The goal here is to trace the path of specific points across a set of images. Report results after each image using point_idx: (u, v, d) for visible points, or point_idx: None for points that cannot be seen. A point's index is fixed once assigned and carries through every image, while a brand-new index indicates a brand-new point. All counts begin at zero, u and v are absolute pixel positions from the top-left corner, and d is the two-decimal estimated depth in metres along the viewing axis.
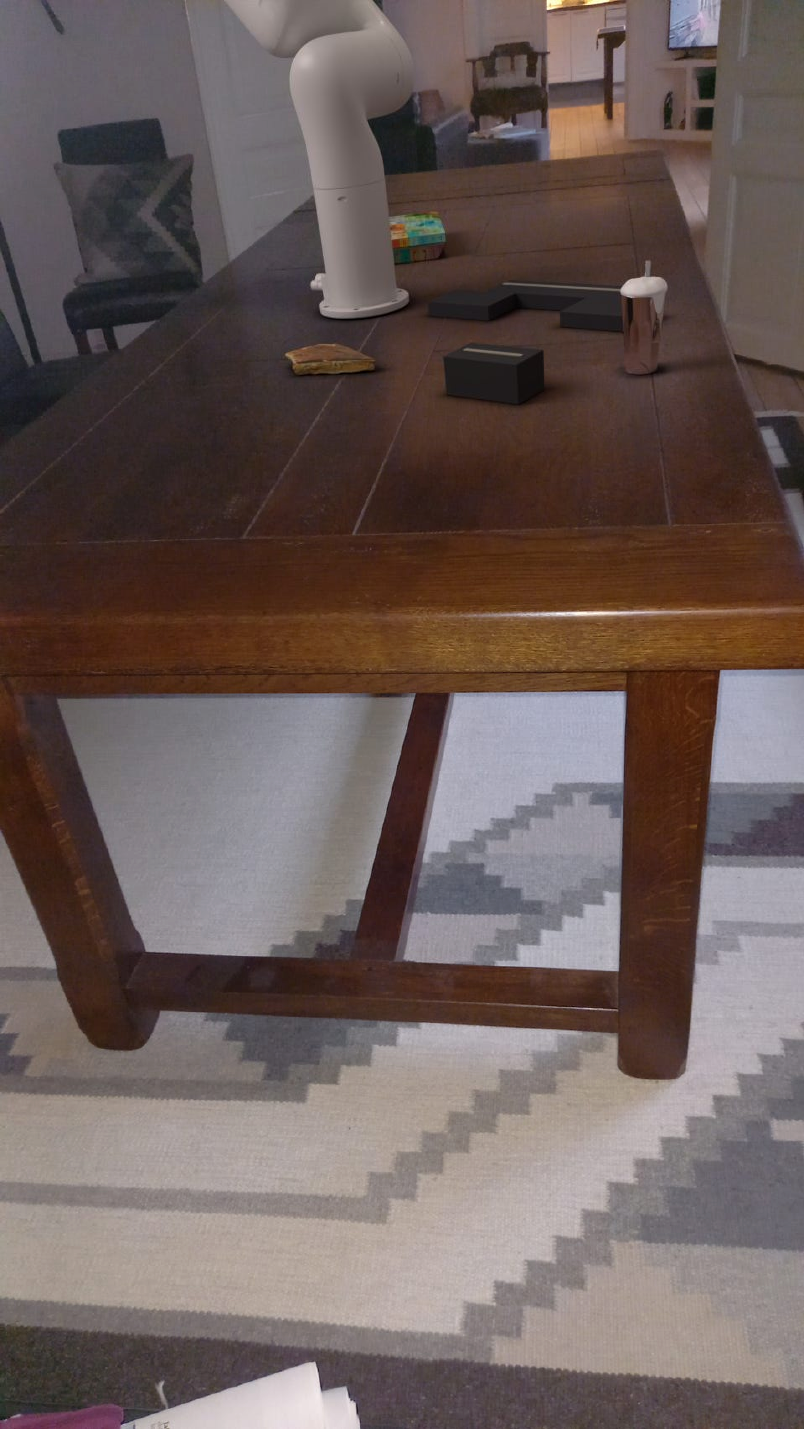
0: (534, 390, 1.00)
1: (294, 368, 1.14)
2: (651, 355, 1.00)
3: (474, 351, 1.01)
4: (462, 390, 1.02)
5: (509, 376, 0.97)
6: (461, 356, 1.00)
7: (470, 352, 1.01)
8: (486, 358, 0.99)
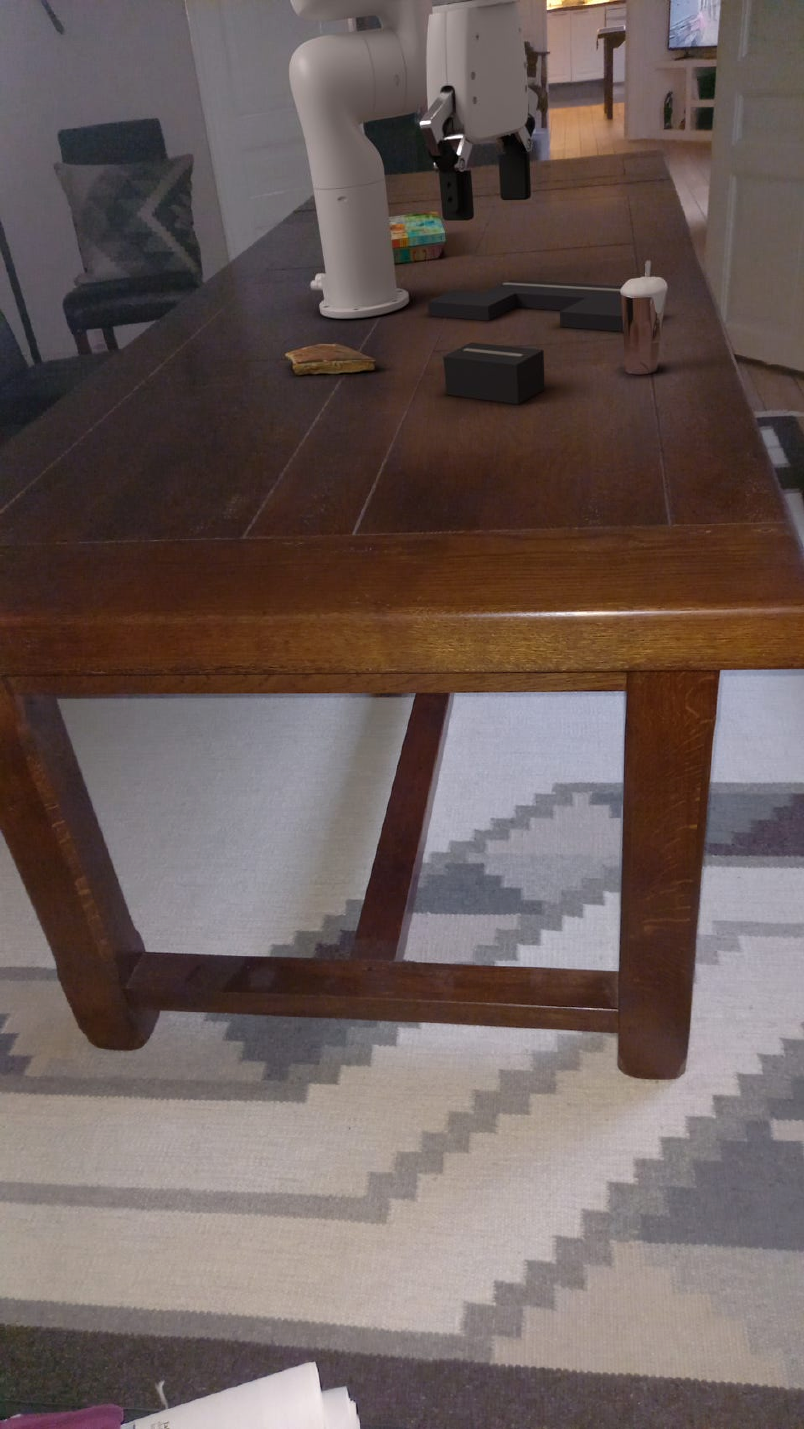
0: (534, 390, 1.00)
1: (294, 368, 1.14)
2: (651, 355, 1.00)
3: (474, 351, 1.01)
4: (462, 390, 1.02)
5: (509, 376, 0.97)
6: (461, 356, 1.00)
7: (470, 352, 1.01)
8: (486, 358, 0.99)
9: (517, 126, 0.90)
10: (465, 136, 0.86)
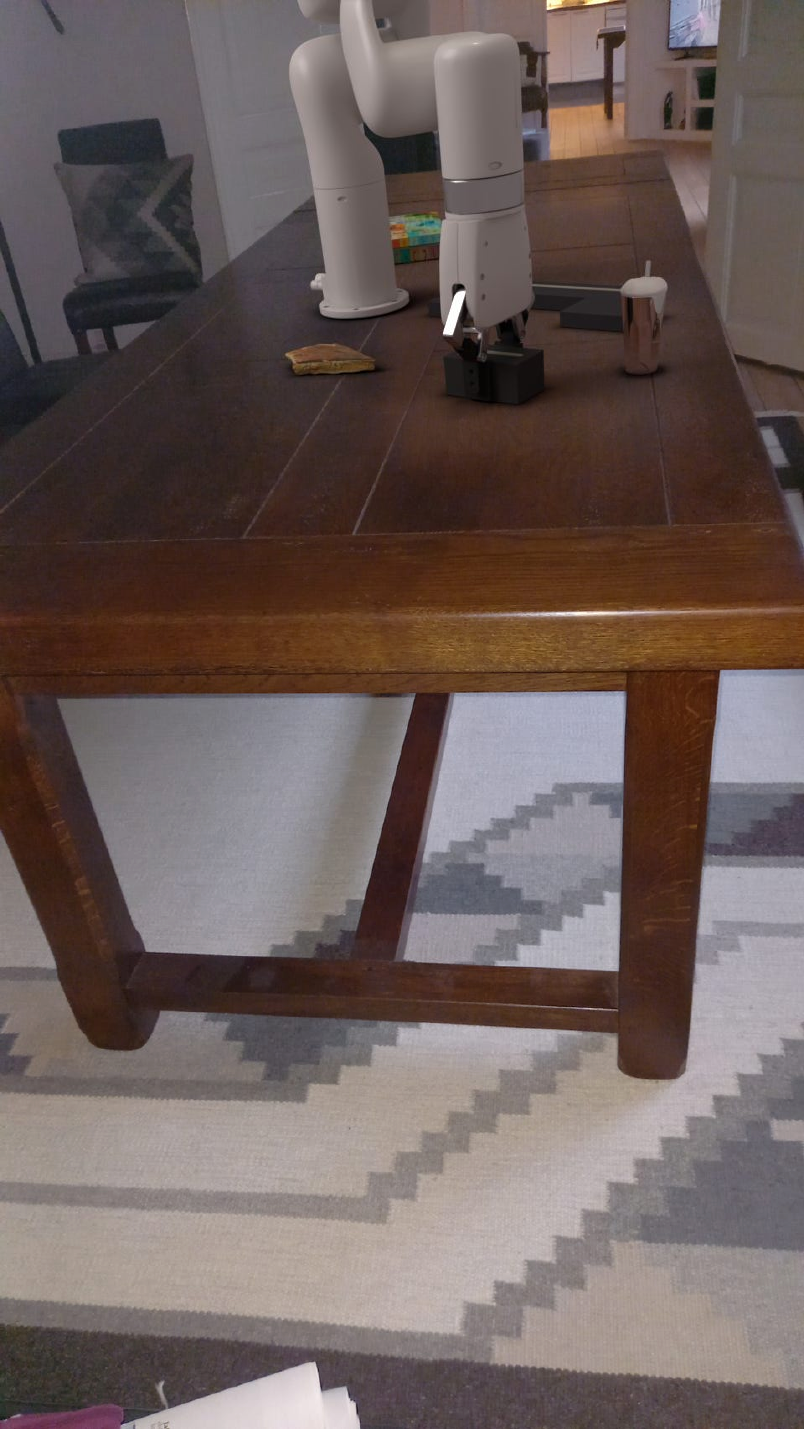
0: (534, 390, 1.00)
1: (294, 368, 1.14)
2: (651, 355, 1.00)
3: None
4: (462, 390, 1.02)
5: (509, 376, 0.97)
6: None
7: None
8: None
9: (522, 309, 0.98)
10: (474, 326, 0.94)
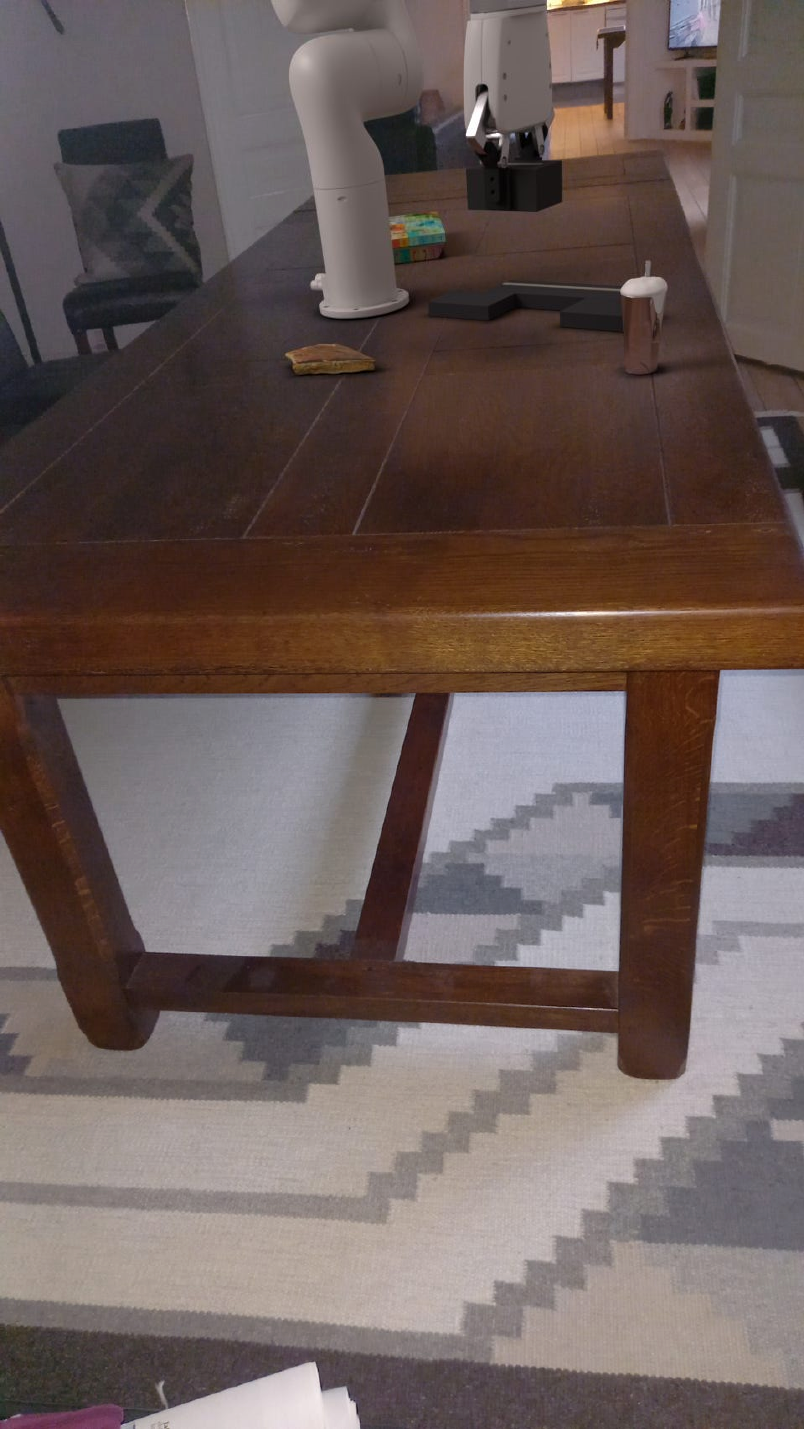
0: (552, 201, 1.04)
1: (294, 368, 1.14)
2: (651, 355, 1.00)
3: None
4: (483, 203, 1.06)
5: (528, 183, 1.02)
6: None
7: None
8: None
9: (542, 120, 1.03)
10: (496, 129, 0.99)
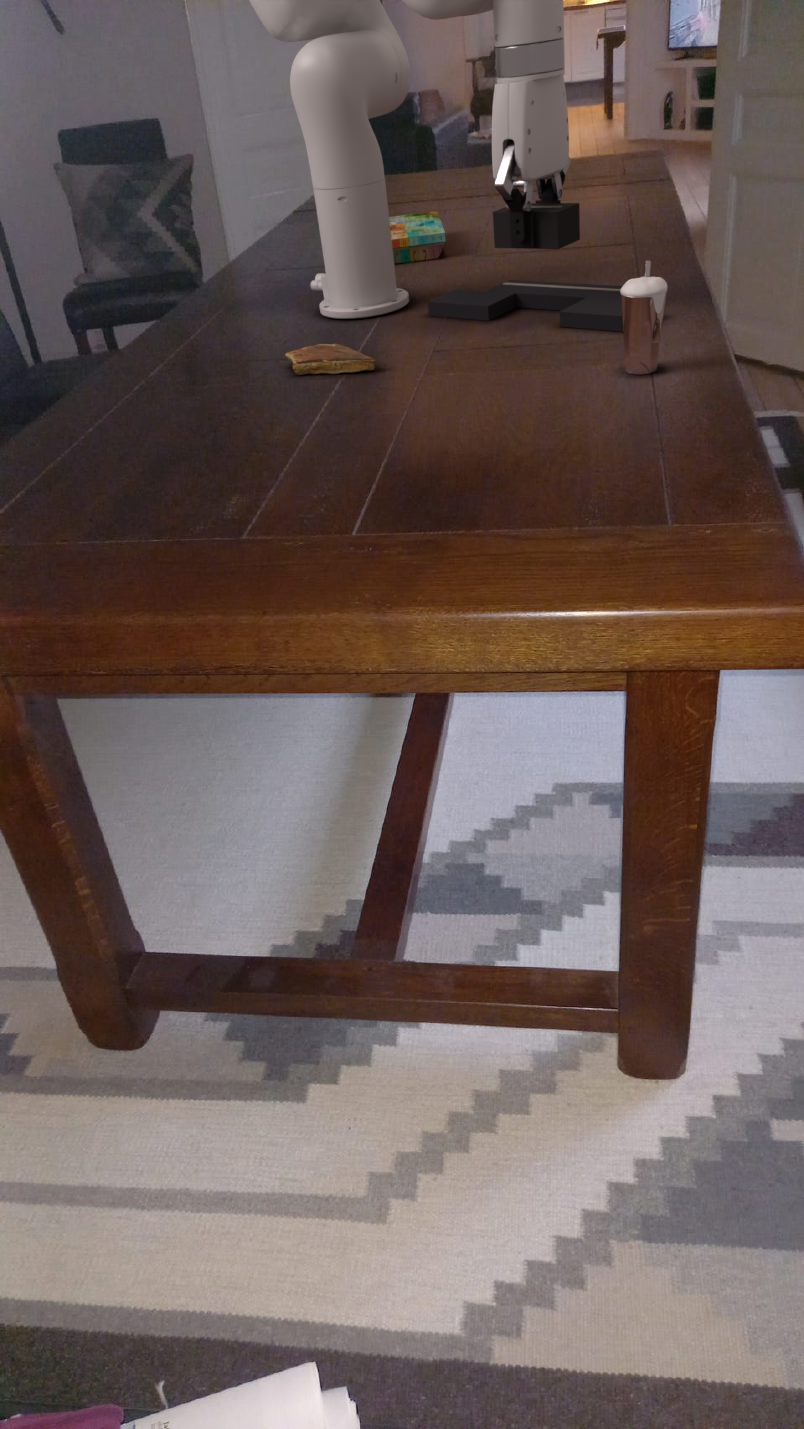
0: (571, 239, 1.16)
1: (294, 368, 1.14)
2: (651, 355, 1.00)
3: None
4: (509, 242, 1.18)
5: (550, 224, 1.14)
6: None
7: None
8: None
9: (561, 168, 1.15)
10: (521, 177, 1.11)
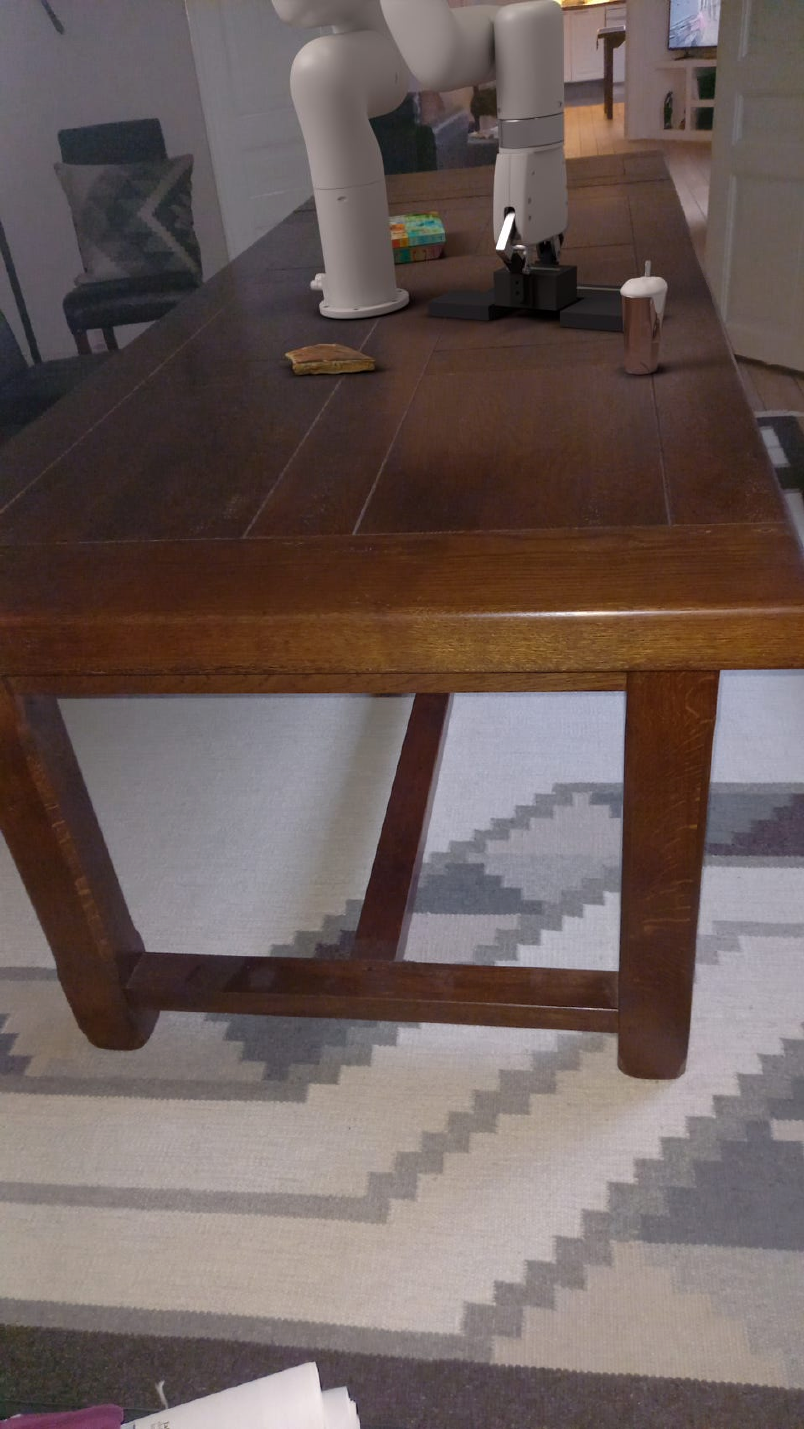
0: (569, 300, 1.21)
1: (294, 368, 1.14)
2: (651, 355, 1.00)
3: None
4: (508, 300, 1.22)
5: (549, 286, 1.18)
6: None
7: None
8: (530, 272, 1.19)
9: (559, 231, 1.19)
10: None
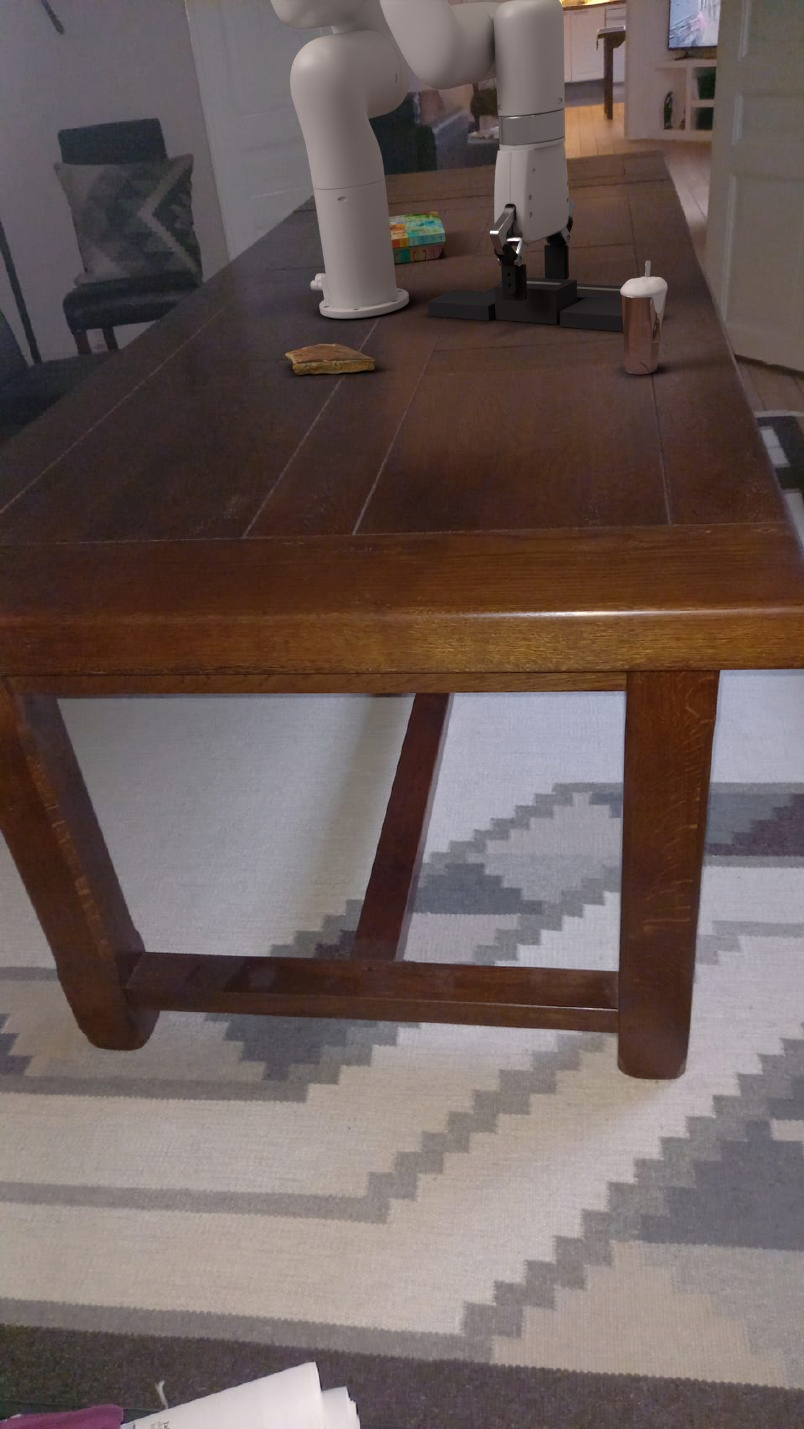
0: None
1: (294, 368, 1.14)
2: (651, 355, 1.00)
3: None
4: (509, 315, 1.23)
5: (549, 301, 1.19)
6: None
7: None
8: (530, 287, 1.20)
9: (560, 228, 1.19)
10: (522, 240, 1.15)
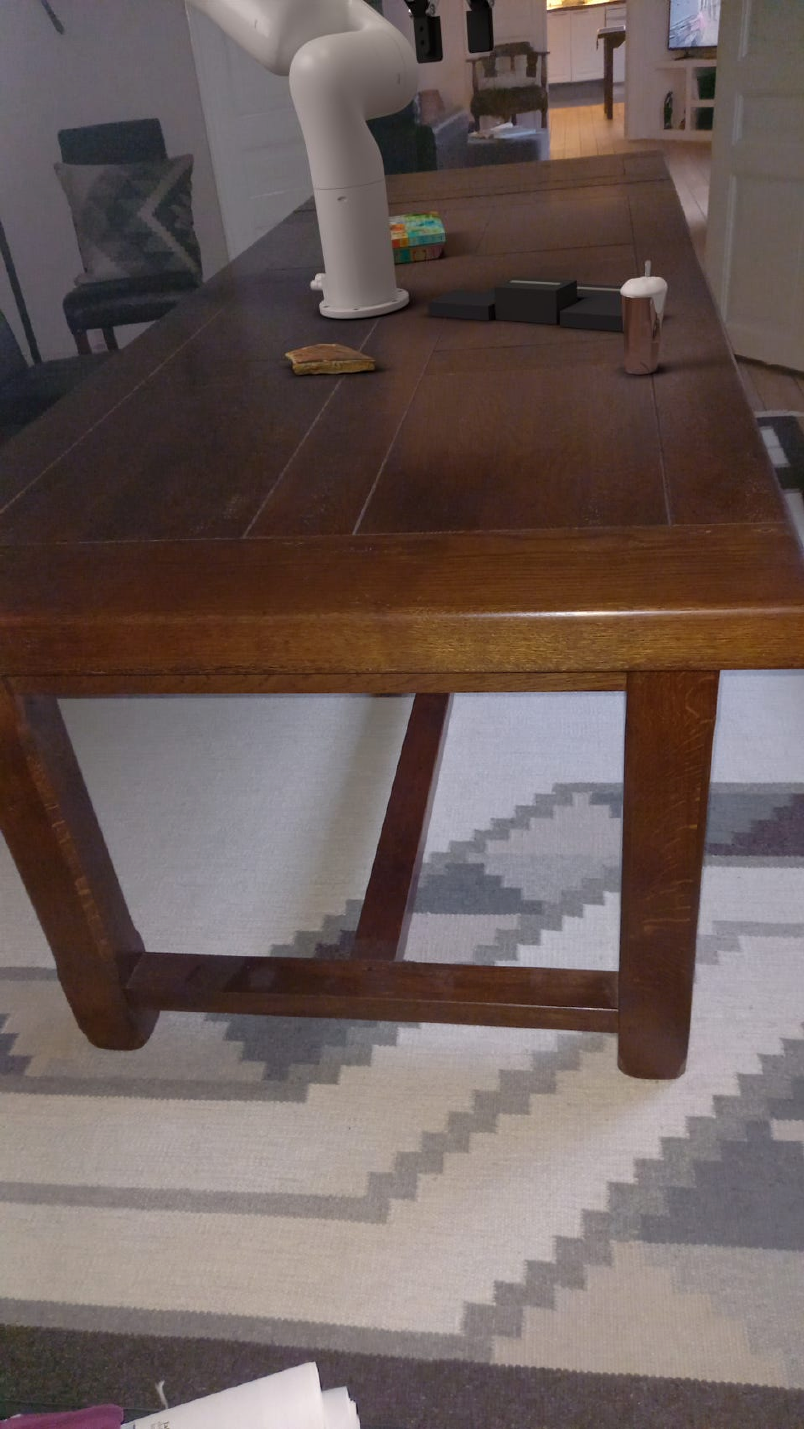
0: None
1: (294, 368, 1.14)
2: (651, 355, 1.00)
3: (519, 282, 1.23)
4: (509, 315, 1.23)
5: (549, 301, 1.19)
6: (509, 285, 1.22)
7: (516, 283, 1.23)
8: (530, 287, 1.20)
9: None
10: None
